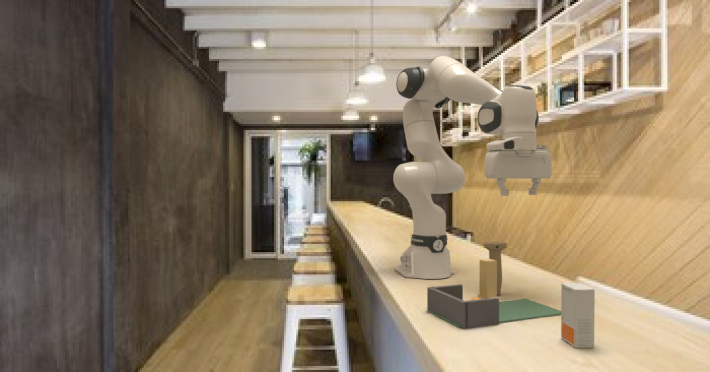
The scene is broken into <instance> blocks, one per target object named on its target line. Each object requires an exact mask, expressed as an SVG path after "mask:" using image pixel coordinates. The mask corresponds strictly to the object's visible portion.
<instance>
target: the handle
mask: <svg viewBox="0 0 710 372" xmlns="http://www.w3.org/2000/svg"><path fill="white" fill-rule="evenodd" d="M507 245H508V244H507V242H504V241H485V242H483V248H484V249H486V250H488V259H492V260H496V261H497V296H500V295H502V290H501V289H502V285H503V266H502V251H504V250H505V249H506V248H508V247H507Z"/></svg>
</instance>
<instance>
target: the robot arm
mask: <svg viewBox="0 0 710 372" xmlns="http://www.w3.org/2000/svg"><path fill="white" fill-rule="evenodd" d="M396 78H397V79H396V84H395V85H396V91H397V93H398V95H399V96H400V97H402V98H405V99H408V101H406V102H405V103H404V106H403V109H402V111H403V112H402V120H403V121H402V123H403V131H404V135H405V136H404V137H405V141H406V146H407V150H408V152H409V153H410V154H411V155H413V156H414V157H416V158H418V159H419V160H421V161H409V162H404V163H402V164H401V163H400V164H399V165H397V167H395V170H394V172H393V177H392V179H393V184H394V187H395V188H396V190H397V191H398V192H399V193H401V195H402V196H403V197H405V198H406V200H407V202H408V204H409V206H410V209H411V212H412V224H413V225H412V227H413V228H412V229H413V231H412V232H413V233H412V234H410V236H411V237H410V245H409V246H408V247H407V249H405V251H404V252H403V253H402V254H401V256H400V258H399V259H400V263H401V265H398V266H397V265H396V266H394V270H395V271H396V272H397V273H398V274H400V275H402V276H403V277H404V278H415V279H422V280H423V279H424V280H425V279H426V280H429V279H430V280H439V279H446V278H449V277H451V276H452V275H453V274H454V273H455V272H454V270H453V269H452V266H451V265H452V264H451V263H452V261H451V253H450V252H451V251H450V249H449V248H448V247H447V245H448V235H447V224H446V223H447V215H446V211H445V209H443V208H442V206H440V205H438V204H435V203H434V201H433V199H432V195H434V194H435V195H436V194H437V195H438V194H439V195H440V194H441V195H442V194H445V195H446V194H452V193H454V192H459V191H460V190H462V189H463V187H464V185H465V183H466V173H465V170H464V168H463V166H461V164H458V163H457V162H456V161H454V160H453V159H452V158H451V157H450V156H449V155H448V153H446V152H445V150H444V148H443V147H442V145H441V142H440V139H439V135H438V132H437V127H436V123H435V119H434V114H433V112H434V108H435V109H441V108H443V106H444V105H445V104H448V103H449V102H450V101H451V100H452V101H453V102H456V103H457V102H458V103H462V104H463V103H464V104H471V105H472V104H473V105H480V107H479V109H478V112H477V124H478V128H479V129H480V130H481V132H483V133H484V134H488V135H496V136H497V135H499V136H500V135H501V137H502V138H499V139H496V140H494V141H490V142H487V143H486V147H485V148H486V151H487V152H486V154H485V158H484V170H483V172H484V175H485V178H487V179H491V180H493V179H496V185H498V188H499V189H500V190H499V192H500V193H499V194H500V196H502V197H504V196H505V197H508V196H510V189H509V188H507V186H506V185H505V184H506V182H507V179H531V183H532V185H531V187H530V188H528V195H529V196H537V195H538V188H539V187H540V185H541V182H542V179H550V178H551V177H552V175H553V165H552V157H551V150H550V149H549V147H547V145H545V144H541V145H540V144H537V127H538V125H539V120H540V119H539V113H538V112H539V111H538V107H537V97H536V92H535V90H534V88H532V87H531V86H528V85H518V84H509V85H506V86H505V87H504V88H503V90H502V89H500V88H499V87H497V86H495V85H494V84H492V83H490V82H489V81H487V80H485V79H484V78H482V77H480V75H478V74H476V73H475V72H474V71H472V70H471V69H469V68H468V67H467V66H465V65H464V64H463V63H462V62H460V61H459V60H456V59H454V58H452V57H450V56H447V55H441V56H438V57H437V56H436V58H434V59H433V60H432V61H431V62H430V65H429V66H428V67H427V68H422V66H419V65H418V66H416V67H415V66H413V67H408V68H407V67H406V68H404V69H403V70H401V71H400V73H398V75H397V77H396Z"/></svg>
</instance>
